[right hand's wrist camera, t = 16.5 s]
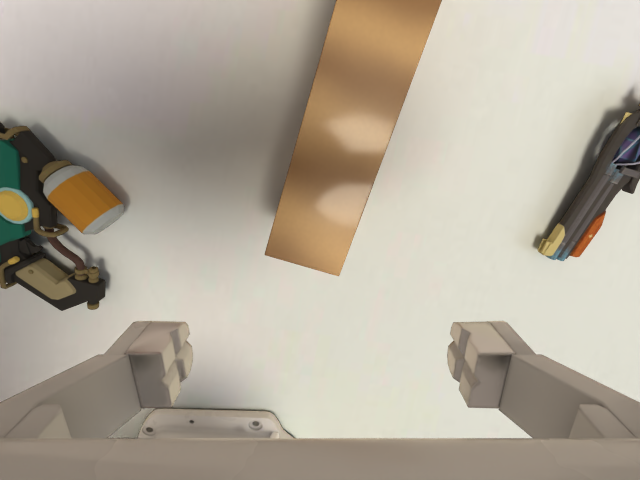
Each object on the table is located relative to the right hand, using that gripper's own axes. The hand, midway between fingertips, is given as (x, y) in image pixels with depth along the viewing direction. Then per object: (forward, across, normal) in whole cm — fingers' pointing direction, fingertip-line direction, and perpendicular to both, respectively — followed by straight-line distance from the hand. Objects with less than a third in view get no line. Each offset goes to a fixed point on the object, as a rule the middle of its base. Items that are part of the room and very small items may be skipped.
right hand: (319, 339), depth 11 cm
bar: (+24, -2, -7) cm, 25 cm away
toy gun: (+24, -29, -1) cm, 37 cm away
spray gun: (+24, +26, +3) cm, 36 cm away
